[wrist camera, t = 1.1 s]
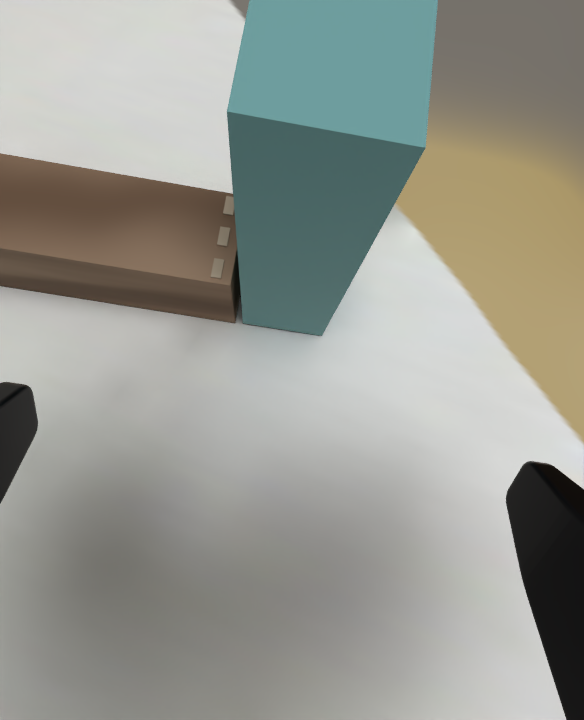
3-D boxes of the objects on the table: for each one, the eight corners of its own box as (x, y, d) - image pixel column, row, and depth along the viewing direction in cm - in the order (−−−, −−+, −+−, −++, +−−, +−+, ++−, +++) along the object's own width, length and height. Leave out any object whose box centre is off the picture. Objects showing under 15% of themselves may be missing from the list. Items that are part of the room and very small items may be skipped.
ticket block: (235, 323, 23) (230, 284, 18) (-51, 277, 22) (-140, 224, 17) (248, 250, 23) (246, 194, 19) (-26, 204, 23) (-104, 134, 18)
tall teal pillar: (321, 335, 23) (425, 147, 9) (242, 323, 22) (227, 112, 9) (331, 263, 24) (438, -8, 10) (255, 250, 23) (258, -45, 10)
